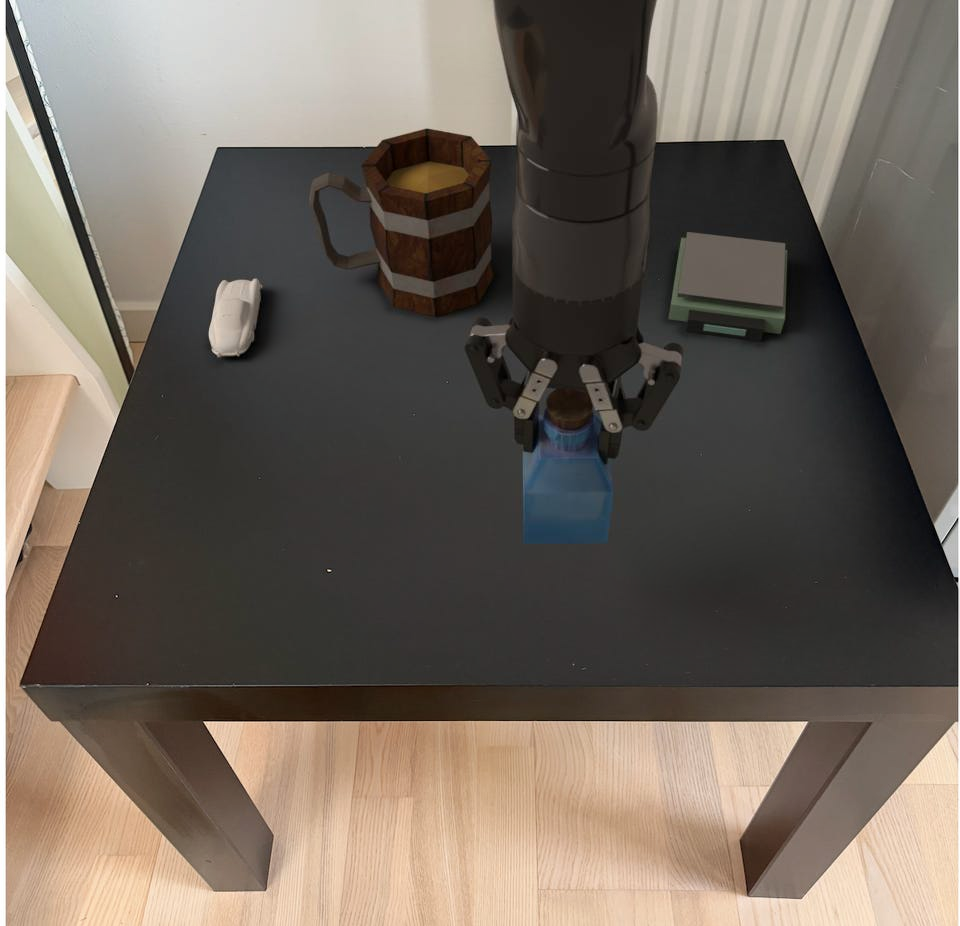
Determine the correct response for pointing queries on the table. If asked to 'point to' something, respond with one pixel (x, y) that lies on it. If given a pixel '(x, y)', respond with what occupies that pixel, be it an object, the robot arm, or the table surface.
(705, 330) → the scale
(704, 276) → the pan
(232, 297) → the toy car
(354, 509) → the table surface
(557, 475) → the perfume bottle
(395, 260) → the mug
